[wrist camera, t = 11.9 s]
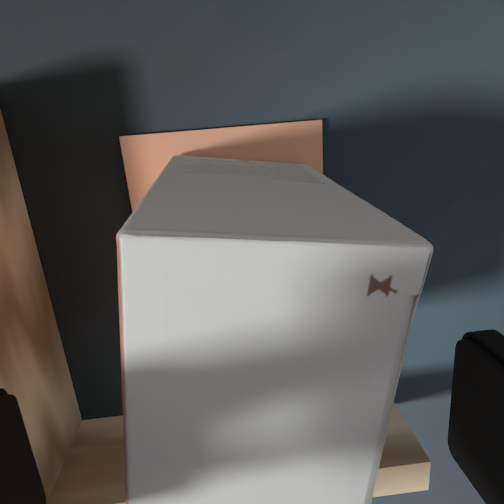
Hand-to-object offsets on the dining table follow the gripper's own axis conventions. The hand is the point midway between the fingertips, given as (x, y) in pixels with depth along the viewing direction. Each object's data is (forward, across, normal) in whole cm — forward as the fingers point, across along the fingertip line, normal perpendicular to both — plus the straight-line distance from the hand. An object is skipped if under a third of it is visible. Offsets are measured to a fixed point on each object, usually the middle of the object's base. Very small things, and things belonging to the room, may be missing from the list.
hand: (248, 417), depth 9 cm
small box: (+10, 0, -1) cm, 10 cm away
